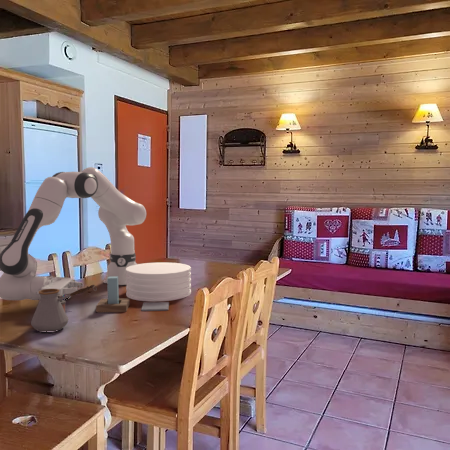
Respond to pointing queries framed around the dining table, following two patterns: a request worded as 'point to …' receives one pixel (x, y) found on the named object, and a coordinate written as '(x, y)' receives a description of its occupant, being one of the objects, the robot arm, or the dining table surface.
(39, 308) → the coffee pot
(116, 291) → the peg
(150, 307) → the coaster
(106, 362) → the dining table surface
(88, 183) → the robot arm
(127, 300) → the holder
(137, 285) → the plate stack
